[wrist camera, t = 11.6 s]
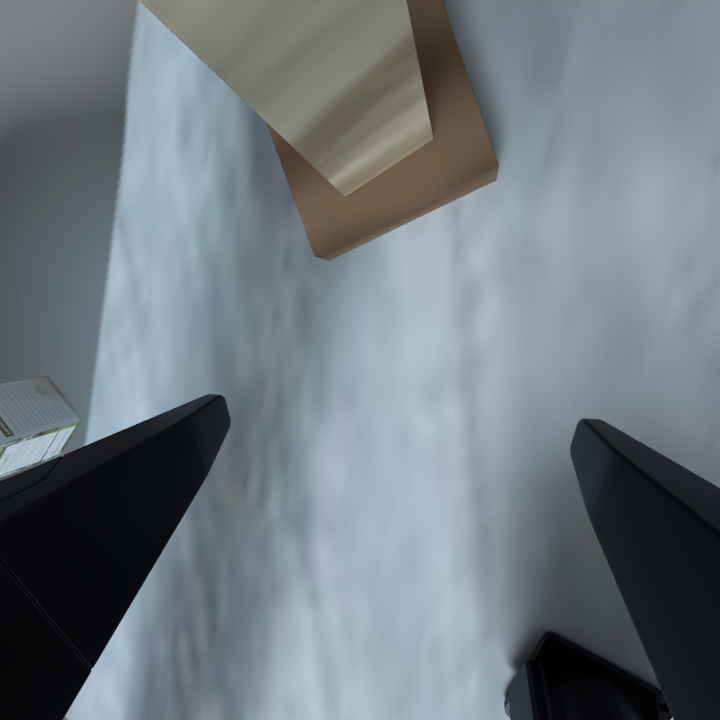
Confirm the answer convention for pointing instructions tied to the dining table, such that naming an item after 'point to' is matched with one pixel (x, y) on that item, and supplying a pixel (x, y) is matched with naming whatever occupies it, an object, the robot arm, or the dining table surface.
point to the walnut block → (416, 171)
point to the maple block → (317, 75)
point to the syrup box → (33, 423)
